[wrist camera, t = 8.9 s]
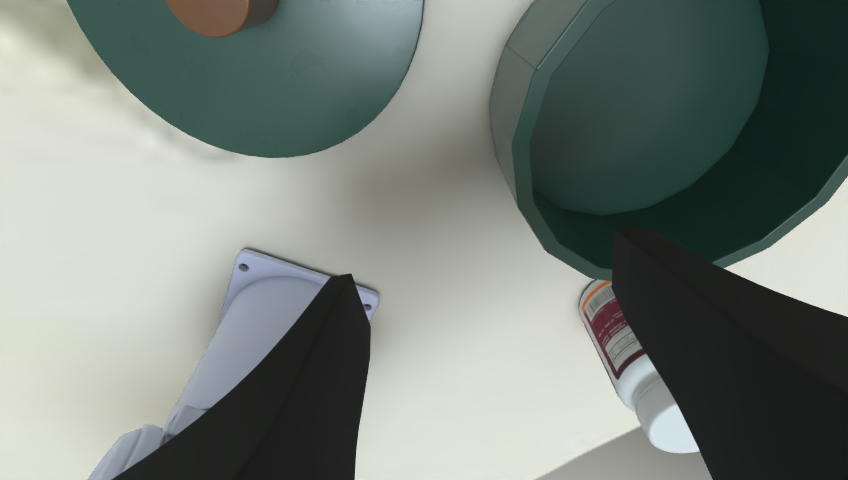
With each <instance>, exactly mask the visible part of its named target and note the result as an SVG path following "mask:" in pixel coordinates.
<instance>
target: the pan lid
mask: <svg viewBox="0 0 848 480" xmlns="http://www.w3.org/2000/svg"><path fill="white" fill-rule="evenodd" d="M67 2H68V4H69V6H70V8H71V10H72V12H73V14H74V16H75V18H76V20H77V22H78V24H79V26H80V28H81V29H82V31H83V32H84V34H85V35H86V37H87V39H88V40H89V42H90V43H91V45H92V46H93V48H94V50H95V51H96V52H97V54H98V55H99V56H100V57H101V59H102V60H103V61H104V63H105V64H106V65H107V67H108V68H109V69H110V70H111V72H112V73H113V74H114V75H115V76H116V77H117V78H118V79H119V80H120V81H121V83H122V84H123V85H124V86H125V87H126V88H127V89H128V90H129V91H130V92H131V93H132V94H133V95H134V96H135V97H137V98H138V99H139V100H140V101H141V102H142V103H143V104H144V105H146V106H147V107H148V108H149V109H150V110H152V111H153V112H154V113H156V114H157V115H158V116H160V117H161V118H163V119H164V120H165V121H167V122H168V123H170V124H171V125H173V126H175V127H176V128H178V129H180V130H181V131H183V132H185V133H186V134H188V135H190V136H192V137H195V138H197V139H199V140H201V141H203V142H205V143H207V144H210V145H213V146H216V147H219V148H221V149H224V150H227V151H231V152H235V153H240V154H244V155H249V156H258V157H267V158H281V157H294V156H302V155H308V154H311V153H315V152H319V151H322V150H325V149H328V148H330V147H332V146H335V145H337V144H339V143H342V142H343V141H345V140H347V139H348V138H350V137H352V136H353V135H355V134H357V133H358V132H359V131H361V130H362V129H363V128H364V127H366V126H367V125H368V124H369V123H370V122H372V121H373V120H374V119H375V118H376V117H377V116H378V114H379V113H380V112H381V111H382V110H383V109H384V108H385V107H386V106H387V104H388V103H389V102H390V100H391V99H392V97H393V96H394V94H395V93H396V92H397V90H398V89H399V87H400V85H401V83H402V81H403V79H404V77H405V75H406V73H407V71H408V69H409V67H410V64H411V61H412V58H413V56H414V53H415V50H416V47H417V43H418V39H419V34H420V30H421V26H422V18H423V9H424V0H67Z"/></svg>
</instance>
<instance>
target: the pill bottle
mask: <svg viewBox="0 0 848 480" xmlns="http://www.w3.org/2000/svg"><path fill="white" fill-rule="evenodd" d="M579 312H580V316H581V319H582V321H583V323H584V325H585V327H586V330H587V332H588V334H589V336H590V338H591V340H592V342H593V344H594V346H595V348H596V350H597V352H598V354H599V356H600V358H601V361H602V363H603V365H604V367H605V369H606V371H607V373H608V375H609V378H610V380H611V382H612V384H613V386H614V388H615V390H616V393H617V395H618V396H619V398H620V399H621V401H622V402H623V403H624V405H625V406H626V407H628V408H629V409H630V410H632V411H633V412H635V413H636V415H637V418H638V420H639V422H640V424H641V425H642V427H643V429H644V431H645V433H646V435H647V436H648V438H649V440H650V441H651V443H652V444H653V445H655V446H656V447H657V448H659V449H661V450H663V451H667V452H672V453H691V452H697V451H700V450H699V448H698V446H697V444H696V442H695V440H694V438H693V436H692V434H691V432H690V430H689V428H688V426H687V423H686V421H685V419H684V417H683V415H682V413H681V411H680V409H679V407H678V405H677V404H676V402H675V400H674V398H673V397H672V395H671V393H670V391H669V390H668V388H667V386H666V385H665V383H664V382H663V380H662V378H661V377H660V375H659V374H658V372H657V370H656V369H655V367H654V366H653V364H652V362H651V361H650V359H649V358H648V356H647V354H646V353H645V351H644V350H643V348H642V346H641V345H640V343H639V341H638V340H637V338H636V337H635V335H634V333H633V332H632V330H631V328H630V327H629V325H628V323H627V322H626V320H625V318H624V316H623V313H622V311H621V309H620V307H619V305H618V302H617V300H616V298H615V295H614V293H613V291H612V281H605V280H598V279H597V280H596V281H595V282H593V283H592V284H591V285H590V286H589V287H588V288H587V290H586V291H585V292H584V294H583V296H582V298H581V301H580V305H579Z"/></svg>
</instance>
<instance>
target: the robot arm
mask: <svg viewBox="0 0 848 480" xmlns="http://www.w3.org/2000/svg"><path fill="white" fill-rule="evenodd" d="M242 264H246V265H247V266H248V267H244V266H243V265H242ZM612 291H613V293H614V295H615V298H616V300H617V302H618V305H619V307H620V309H621V311H622V313H623V316H624V318H625V320H626V322H627V323H628V325H629V327H630V328H631V330H632V332H633V333H634V335H635V337H636V338H637V340H638V341H639V343H640V345H641V346H642V348H643V350H644V351H645V353H646V354H647V356H648V358H649V359H650V361H651V362H652V364H653V366H654V367H655V369H656V370H657V372H658V374H659V375H660V377H661V378H662V380H663V382H664V383H665V385H666V386H667V388H668V390H669V391H670V393H671V395H672V397H673V398H674V400H675V402H676V404H677V405H678V407H679V409H680V411H681V413H682V415H683V417H684V419H685V421H686V423H687V426H688V428H689V430H690V432H691V434H692V436H693V438H694V440H695V442H696V444H697V446H698V448H699V450H700V453H701V455H702V457H703V459H704V461H705V463H706V465H707V468H708V470H709V472H710V474H711V476H712V479H713V480H848V317H846V316H843V315H840V314H837V313H833V312H830V311H827V310H824V309H821V308H819V307H816V306H813V305H810V304H807V303H804V302H802V301H799V300H797V299H794V298H791V297H789V296H786V295H783V294H781V293H778V292H775V291H773V290H771V289H768V288H766V287H763V286H761V285H758V284H756V283H754V282H752V281H749V280H747V279H745V278H743V277H741V276H738V275H736V274H734V273H732V272H730V271H728V270H725V269H723V268H721V267H719V266H717V265H715V264H713V263H711V262H709V261H707V260H705V259H703V258H701V257H699V256H697V255H695V254H693V253H692V252H690V251H688V250H686V249H684V248H682V247H680V246H678V245H677V244H675V243H673V242H671V241H669V240H667V239H665V238H664V237H662V236H660V235H658V234H656V233H654V232H652V231H650V230H648V229H646V228H644V227H642V226H640V225H633V226H627V227H621V228H615V229H614V247H613V267H612ZM378 303H379V295H378V293H377V292H375V291H372V290H369V289H366V288H363V287H360V286H357V285H355V282H354V280H353V277H352V274H345V275H340V276H334V277H330V276H327V275H324V274H321V273H318V272H315V271H312V270H309V269H306V268H303V267H300V266H297V265H294V264H291V263H288V262H285V261H282V260H279V259H276V258H273V257H270V256H267V255H264V254H261V253H258V252H255V251H252V250H248V249H244V250H241V251H240V252H239V254H238V255H237V257H236V261H235V265H234V268H233V272H232V276H231V280H230V283H229V287H228V291H227V294H226V298H225V302H224V306H223V309H222V313H221V317H220V320H219V324H218V328H217V331H216V333H215V335H214V336H213V338H212V340H211V342H210V344H209V346H208V347H207V349H206V351H205V353H204V355H203V357H202V358H201V360H200V362H199V364H198V366H197V367H196V369H195V371H194V373H193V375H192V377H191V378H190V380H189V382H188V384H187V386H186V387H185V389H184V391H183V393H182V395H181V397H180V398H179V400H178V402H177V404H176V406H175V407H174V409H173V411H172V413H171V415H170V417H169V418H168V420H167V422H166V424H165V426H164V427H163V428H159V427H157V426H155V425H153V424H146V425H144V426H142V427H141V428H140V429H139V430H134V431H132V432H129V433H126V434H124V435H122V436H121V437H120V438H119V439H118V440H117V441H116V442H115V443H114V445H113V446H112V447H111V448H110V450H109V451H108V452H107V454H106V455H105V456H104V457H103V459H102V460H101V461H100V463H99V464H98V466H97V467H96V468H95V470H94V471H93V472H92V474H91V475H90V477H89V478H88V479H87V480H354V478H355V461H356V446H357V438H358V430H359V424H360V418H361V412H362V405H363V399H364V393H365V387H366V381H367V374H368V368H369V361H370V337H371V326H370V323H369V321H370V319H371V317H372V315H373V313H374V311H375V309H376V307H377V305H378ZM364 304H369V305H371V306H365V305H364Z"/></svg>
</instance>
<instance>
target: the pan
mask: <svg viewBox="0 0 848 480" xmlns="http://www.w3.org/2000/svg"><path fill="white" fill-rule="evenodd" d="M490 117H491V131H492V136H493V141H494V146H495V155H496V158H497V161H498V163H499V165H500V167H501V170H502V172H503V174H504V177H505V179H506V181H507V183H508V186H509V188H510V190H511V193H512V195H513V197H514V200H515V202H516V204H517V206H518V208H519V210H520V212H521V213H522V215H523V216H524V218H525V219H526V221H527V223H528V224H529V226H530V227H531V229H532V231H533V232H534V234H535V235H536V237H537V238H538V240H539V242H540V243H541V245H542V246H543V248H544V250H545V251H547V252H548V253H549V254H551V255H553V256H554V257H556V258H558V259H559V260H561V261H563V262H564V263H566V264H567V265H569V266H571V267H572V268H574V269H576V270H577V271H579V272H581V273H582V274H584V275H586V276H587V277H589V278H592V279H598V280H605V281H612V267H613V247H614V229H615V228H621V227H627V226H633V225H640V226H642V227H644V228H646V229H648V230H650V231H652V232H654V233H656V234H658V235H660V236H662V237H664V238H665V239H667V240H669V241H671V242H673V243H675V244H677V245H678V246H680V247H682V248H684V249H686V250H688V251H690V252H692V253H693V254H695V255H697V256H699V257H701V258H703V259H705V260H707V261H709V262H711V263H713V264H715V265H717V266H719V267H721V268H725V267H728V266H730V265H732V264H734V263H737V262H739V261H741V260H743V259H745V258H748V257H750V256H752V255H754V254H757V253H759V252H761V251H763V250H765V249H767V248H769V247H770V246H772V245H773V244H774V243H776V242H777V241H778V240H780V239H781V238H782V237H783V236H785V235H786V234H787V233H789V232H790V231H791V230H792V229H794V228H795V227H796V226H798V225H799V224H800V223H801V222H803V221H804V220H805V219H807V218H808V217H809V216H810V215H812V214H813V213H814V212H816V211H817V210H818V209H819V208H821V207H822V206H823V205H825V204H826V202H828V201H829V199H830V198H831V197H832V196H833V194H834V193H835V192H836V190H837V189H838V188H839V187H840V185H841V184H842V183H843V181H844V180H845V179H846V178H847V176H848V0H535V1H534V2H533V4H532V5H531V6H530V8H529V9H528V10H527V11H526V13H525V14H524V15H523V17H522V18H521V20H520V21H519V23H518V25H517V26H516V28H515V30H514V31H513V33H512V34H511V36H510V39H509V41H508V43H507V45H506V47H505V49H504V51H503V54H502V56H501V59H500V62H499V65H498V68H497V71H496V74H495V79H494V84H493V89H492V95H491V102H490Z"/></svg>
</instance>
